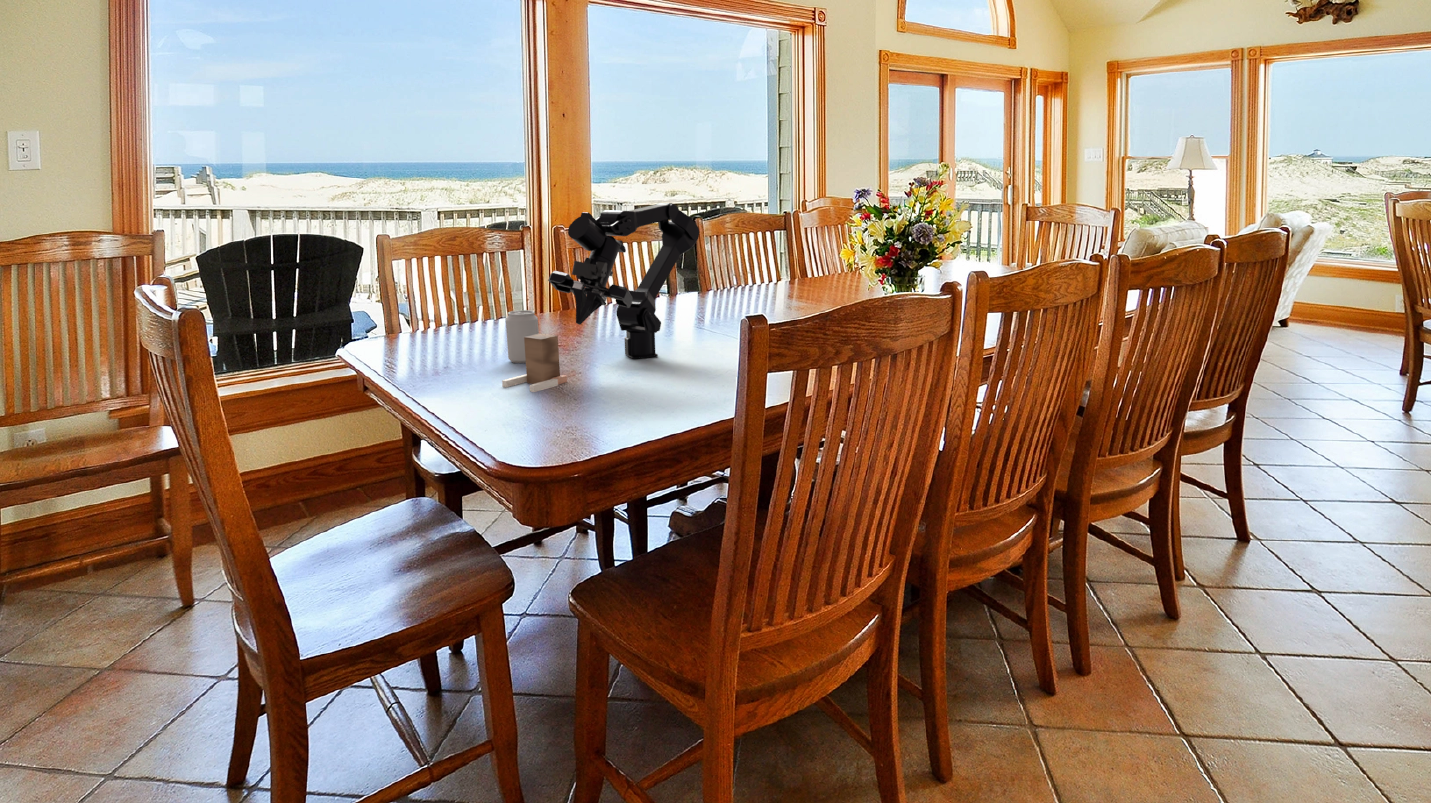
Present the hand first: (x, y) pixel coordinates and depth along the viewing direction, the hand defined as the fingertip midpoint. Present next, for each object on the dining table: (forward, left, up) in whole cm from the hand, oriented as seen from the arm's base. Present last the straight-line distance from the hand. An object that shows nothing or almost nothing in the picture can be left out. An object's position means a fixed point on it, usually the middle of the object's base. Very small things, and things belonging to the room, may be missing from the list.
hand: (578, 323), depth 213 cm
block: (+10, +6, -11) cm, 16 cm away
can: (+9, -18, -11) cm, 23 cm away
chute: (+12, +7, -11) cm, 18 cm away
